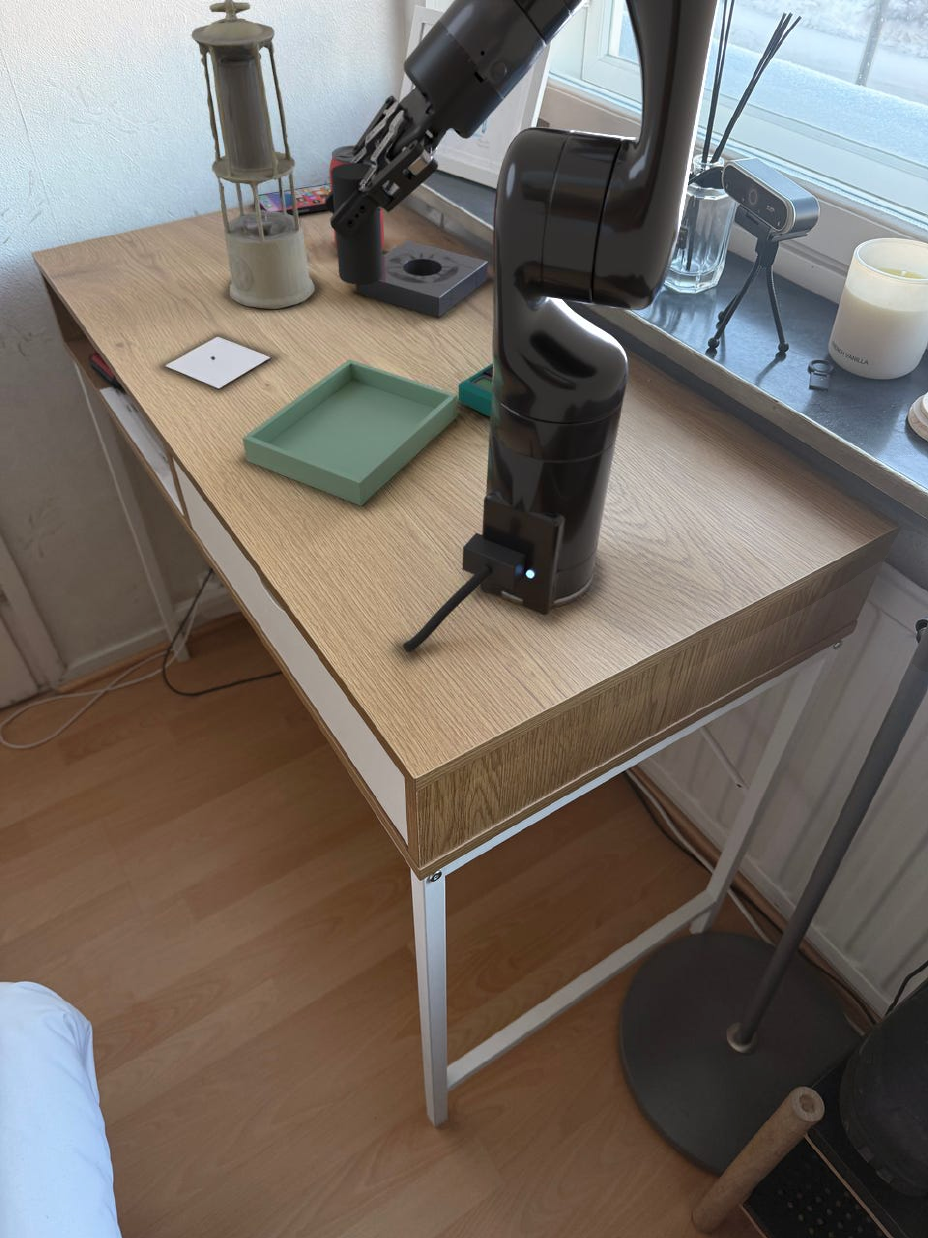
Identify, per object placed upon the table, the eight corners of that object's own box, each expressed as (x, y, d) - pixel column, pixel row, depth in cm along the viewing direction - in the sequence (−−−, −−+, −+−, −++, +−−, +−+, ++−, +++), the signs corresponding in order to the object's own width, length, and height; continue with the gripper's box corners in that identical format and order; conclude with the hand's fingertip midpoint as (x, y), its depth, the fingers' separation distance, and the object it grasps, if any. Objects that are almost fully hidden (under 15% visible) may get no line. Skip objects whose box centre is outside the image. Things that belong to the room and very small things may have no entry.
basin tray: (361, 506, 78) (359, 483, 76) (246, 460, 83) (242, 437, 81) (457, 416, 89) (457, 394, 87) (350, 380, 93) (349, 358, 91)
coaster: (270, 357, 96) (269, 350, 95) (218, 388, 91) (217, 381, 91) (217, 336, 99) (216, 330, 98) (164, 365, 94) (163, 359, 93)
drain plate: (438, 317, 104) (439, 297, 102) (356, 293, 108) (354, 273, 106) (487, 280, 111) (488, 260, 109) (407, 258, 115) (407, 239, 113)
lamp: (232, 312, 103) (179, 10, 82) (226, 266, 112) (177, -18, 91) (319, 305, 105) (289, 8, 84) (307, 260, 114) (278, -20, 92)
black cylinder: (366, 288, 78) (361, 182, 71) (330, 278, 79) (321, 172, 73) (391, 272, 80) (387, 168, 74) (355, 262, 82) (349, 159, 75)
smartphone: (251, 195, 126) (347, 180, 131) (252, 202, 127) (348, 186, 132) (267, 213, 122) (366, 196, 127) (268, 220, 123) (366, 203, 127)
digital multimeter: (590, 373, 96) (593, 348, 93) (512, 431, 87) (514, 405, 85) (535, 351, 99) (537, 327, 97) (455, 405, 90) (455, 380, 88)
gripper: (425, -2, 72) (294, 162, 78) (462, 39, 62) (308, 223, 69) (485, 70, 77) (356, 219, 83) (527, 119, 67) (378, 284, 73)
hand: (335, 220), depth 76 cm, fingers closed on black cylinder, 4 cm apart
